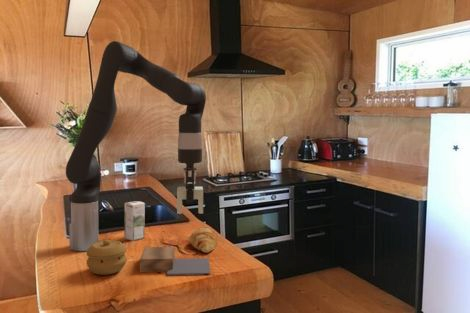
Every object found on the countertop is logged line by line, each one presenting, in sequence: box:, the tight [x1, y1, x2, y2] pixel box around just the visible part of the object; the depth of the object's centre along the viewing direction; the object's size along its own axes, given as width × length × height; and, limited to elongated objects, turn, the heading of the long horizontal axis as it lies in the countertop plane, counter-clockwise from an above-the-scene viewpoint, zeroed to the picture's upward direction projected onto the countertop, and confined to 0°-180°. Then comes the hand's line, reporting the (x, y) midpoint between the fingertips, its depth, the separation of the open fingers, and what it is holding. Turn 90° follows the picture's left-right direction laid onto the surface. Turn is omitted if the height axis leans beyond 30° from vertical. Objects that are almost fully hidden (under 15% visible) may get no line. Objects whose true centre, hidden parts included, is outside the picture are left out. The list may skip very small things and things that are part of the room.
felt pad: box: [166, 257, 211, 277], centre depth 124 cm, size 13×13×1 cm
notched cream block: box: [176, 186, 204, 215], centre depth 122 cm, size 6×8×8 cm
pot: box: [86, 239, 128, 276], centre depth 119 cm, size 12×12×10 cm
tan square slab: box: [139, 246, 176, 273], centre depth 126 cm, size 10×12×4 cm
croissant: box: [188, 226, 218, 253], centre depth 146 cm, size 21×10×8 cm, turn 13°
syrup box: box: [123, 200, 146, 242], centre depth 154 cm, size 6×6×14 cm
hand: (190, 200), depth 122 cm, fingers closed on notched cream block, 6 cm apart
